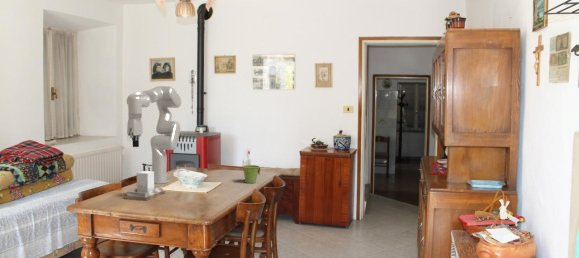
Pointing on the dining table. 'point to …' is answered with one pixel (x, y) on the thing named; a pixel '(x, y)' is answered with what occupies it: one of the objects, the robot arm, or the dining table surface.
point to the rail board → (144, 194)
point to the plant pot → (250, 173)
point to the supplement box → (145, 181)
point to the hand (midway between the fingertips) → (135, 146)
